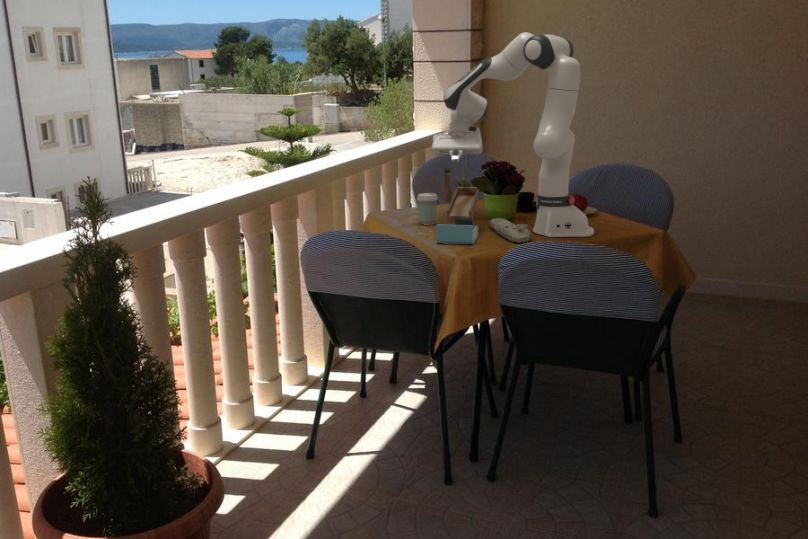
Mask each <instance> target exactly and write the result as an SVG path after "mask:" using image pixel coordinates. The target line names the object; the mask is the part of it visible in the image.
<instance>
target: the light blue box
mask: <svg viewBox="0 0 808 539" xmlns="http://www.w3.org/2000/svg"><path fill="white" fill-rule="evenodd" d="M435 225H436V244H437V243H443V244H442V245H454V244H473V242H474V241H475V240H477V239H478V237H479V226H477V225H476V226H473V225H455V224H441V223H440V224H437V223H436V224H435ZM476 238H477V239H476ZM475 242H476V241H475ZM475 242H474V243H475ZM473 245H474V244H473Z"/></svg>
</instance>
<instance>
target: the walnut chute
mask: <svg viewBox="0 0 808 539" xmlns="http://www.w3.org/2000/svg"><path fill="white" fill-rule="evenodd" d="M451 171H452V169H451V167H449V166H445V167H444V168H443V174H444V187H445V188H444V192H445V202H446V203H449V205H448V207H447V209H446V218H447V219H455V218H457V219H471V218H472V216H473V213H474V212H475V210H476V207H477V204H478V201H479V199H480V189H478V187H477V186H473V187H472V186H470V187H459V186H457V189H455V190H454V191H455V192H454V193H452V192H453V189H452V175H451V174H452V173H451ZM474 214H475V213H474Z"/></svg>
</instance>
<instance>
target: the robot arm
mask: <svg viewBox="0 0 808 539" xmlns="http://www.w3.org/2000/svg"><path fill="white" fill-rule="evenodd" d="M574 52H575V47H574V45H573V42H571V41H570V39H568V38H566V37H564V36H558V35H554V34H548V33H547V34H542V33H541V34H535V35H534V34H533V33H530V32H527V31H526V32H525V31H524V32H521V33H519V34H518V35H517V36H516V37H515V38H514V39H512V40H511V41H510V42H509V43H508V44H507V45H506V46H505V48H504V49H503V50H502V51H500V53H498V54H496V55H494V56H492V57H485V58H484V59H482V60H481V61H479V62H478V63H477V64H476V65H475V66H473V68H472V69H470V70H469V71H468V72H467V73H465V75H463V76H462V77H461V78H460V79H459V80H457V81H455V82H454V83H453V84H451V85H450V86H448V88H447V89H446V90H445V92H444V94H443V102H444V105H445V107H446V109H449V110H451V113H450V123H449V126H448V132H443V133H442V132H440V133H439V132H438V133H436V134H434V135H433V136H432V144H431V152H432V153H433V154H434V155H449V156H450V157H451V160H450V161H451V162H452V163H460V159H461V158H462V157H463V156H464V155H481V154H482V153H483V150H484V149H483V147H484V146H483V140H482V132H481V130H480V128H479V127H478V126H472V125H475V124H477V123H480V122H481V121H483V120H484V119H485V118H486V117H487V114H488V111H489V103H488V102H489V101H488V100H487V99H486V98H485V97H483V96H481V95H479V94H477V93H476V92H474V91H471V90H470V89H471V88H472V87H474V85H476V84H477V83H478V82H479V81H481V80H483V79H494V80H498V81H499V80H500V81H505V82H506V81H509V82H510V81H513V80H516V79H517V78H519V77H520V76H521V75H522V74H524V72H525V71H526V69H527V68H528V67H529V66H530V65H532V66H535V67H537V68H539V69H541V70H547V71H548V83H547V88H546V95H545V102H544V109H543V111H542V116H541V119H540V121H539V125H538V129H537V132H536V136H535V138H534V141H533V146H532V148H533V150H534V153H535V154H536V155H537V156H538V157H539V158H541V159H542V161H541V166H540V169H539V172H538V182H537V184H538V188H537V195H536V206H535V207H536V210H537V212H536V216H535V217H536V218H535V223H534V227H533V230H532V232H534V233H535V234H538V235H543V236H545V237H548V238H558V237H559V238H564V237H566V238H567V237H570V238H573V237H574V238H575V237H584V238H585V237H591V236H593V235H594V233H595V229H594V227H592V226H589V220H588V217H587V215H586V213H584V212H583V211H582V210H580V209H579V208H578V207H577V206H575V205H574V203H575V200H576V199H575V197H574V196H573V195H570V194H569V186H570V185H569V182H570V171H571V170H570V169H571V164H572V158H573V152H574V146H575V144H576V143H575V142H576V138H575V137H576V136H575V134H574V133H573V131H572V130H571V124H572V121H573V119H574V115H575V114H576V109H577V101H578V96H579V89H580V84H581V82H580V81H581V66H580V62H579V61H578V60H577V58H574ZM456 154H457V155H456Z"/></svg>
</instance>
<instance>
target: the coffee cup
mask: <svg viewBox="0 0 808 539" xmlns="http://www.w3.org/2000/svg"><path fill="white" fill-rule="evenodd" d="M416 200H417V205H418V206H417V207H418V212H419V220H420V224H421V225H422V224H433V223H435V224H436V218H437V217H436V216H437V206H438V201H439V197H438V195H437V193H434V192H424V193H418V194H417V198H416Z"/></svg>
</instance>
